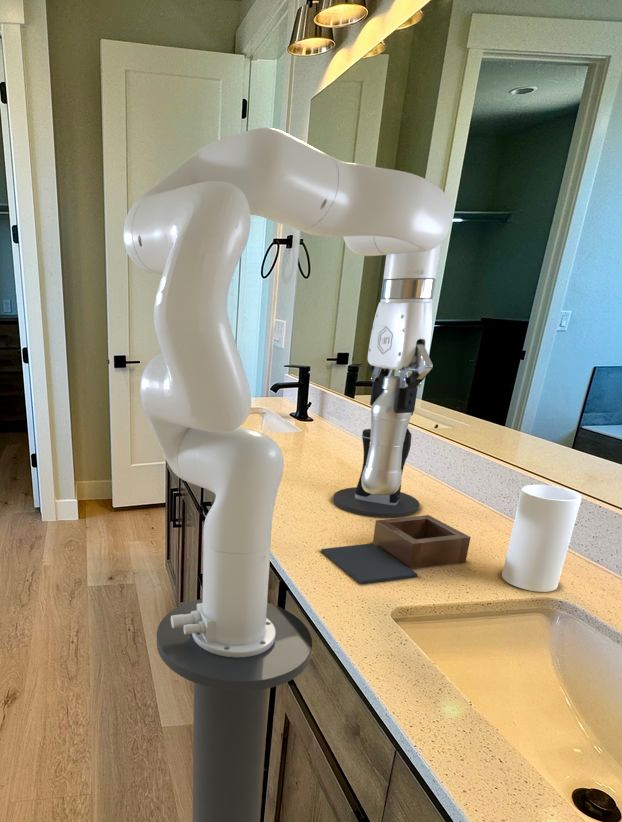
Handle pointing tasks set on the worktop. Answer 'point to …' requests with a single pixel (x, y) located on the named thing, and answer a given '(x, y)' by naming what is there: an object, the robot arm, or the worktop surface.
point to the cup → (540, 537)
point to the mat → (368, 563)
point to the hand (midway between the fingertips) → (391, 407)
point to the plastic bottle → (385, 442)
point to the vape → (377, 504)
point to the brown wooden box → (421, 541)
